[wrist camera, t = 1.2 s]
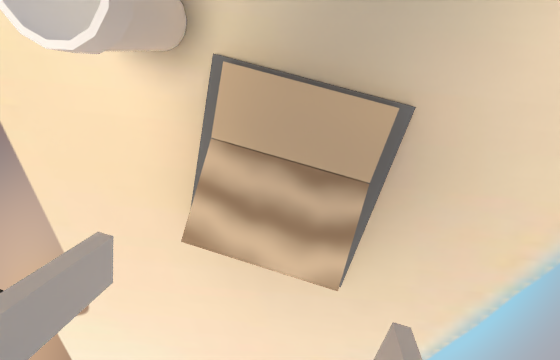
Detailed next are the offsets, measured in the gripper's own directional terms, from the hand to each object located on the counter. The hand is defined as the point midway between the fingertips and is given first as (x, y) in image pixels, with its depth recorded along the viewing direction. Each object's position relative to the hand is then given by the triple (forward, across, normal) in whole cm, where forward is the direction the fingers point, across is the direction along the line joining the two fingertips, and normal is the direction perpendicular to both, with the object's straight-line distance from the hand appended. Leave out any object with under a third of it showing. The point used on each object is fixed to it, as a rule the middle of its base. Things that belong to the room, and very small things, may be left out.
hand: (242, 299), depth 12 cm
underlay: (+22, -1, -2) cm, 22 cm away
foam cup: (+22, -18, +12) cm, 31 cm away
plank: (+19, -1, -5) cm, 19 cm away
